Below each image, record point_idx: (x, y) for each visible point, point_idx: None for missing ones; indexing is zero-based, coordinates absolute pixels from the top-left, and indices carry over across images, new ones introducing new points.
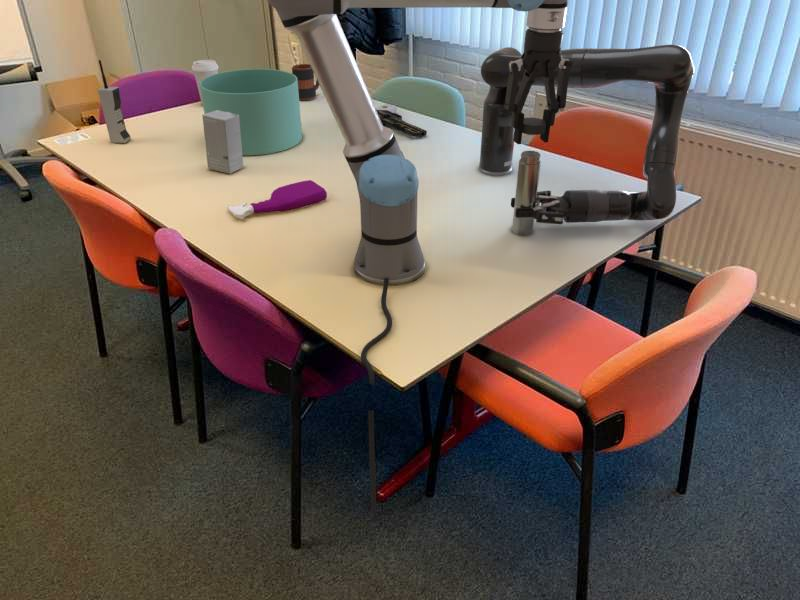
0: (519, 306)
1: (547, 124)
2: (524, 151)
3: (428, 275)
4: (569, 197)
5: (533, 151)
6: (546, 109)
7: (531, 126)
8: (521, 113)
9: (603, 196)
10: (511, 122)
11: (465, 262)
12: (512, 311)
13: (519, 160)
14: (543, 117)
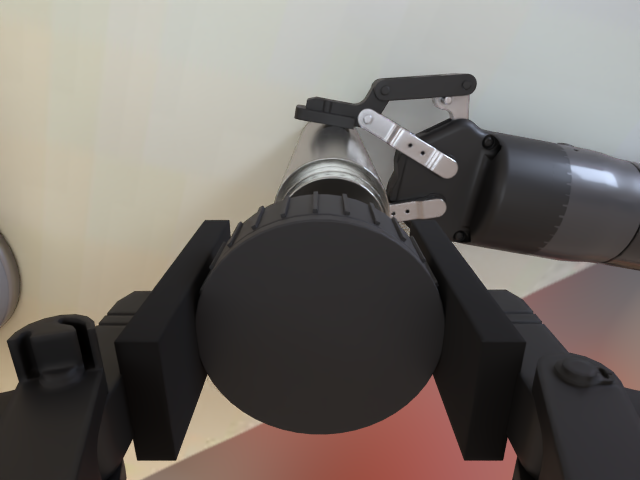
0: (204, 443)
1: (436, 375)
2: (309, 186)
3: (30, 312)
4: (481, 226)
5: (363, 197)
6: (510, 353)
7: (265, 419)
8: (149, 433)
9: (603, 250)
10: (110, 311)
11: (126, 277)
12: (187, 453)
13: (280, 190)
14: (452, 311)
